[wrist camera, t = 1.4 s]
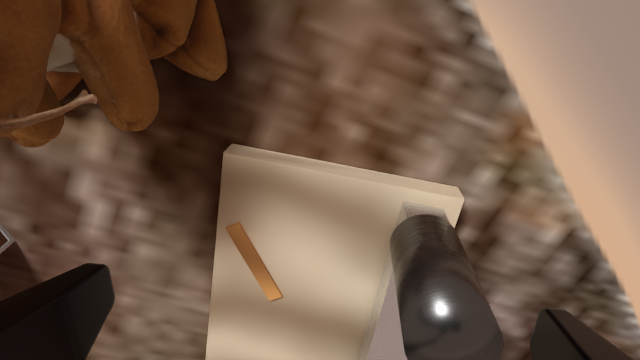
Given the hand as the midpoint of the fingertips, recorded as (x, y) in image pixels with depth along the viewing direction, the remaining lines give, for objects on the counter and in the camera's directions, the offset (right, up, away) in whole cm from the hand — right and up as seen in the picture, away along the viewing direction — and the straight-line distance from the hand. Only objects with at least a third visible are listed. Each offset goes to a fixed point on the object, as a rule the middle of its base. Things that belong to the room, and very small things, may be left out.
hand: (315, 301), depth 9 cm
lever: (+4, -7, +15) cm, 17 cm away
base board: (0, -6, +17) cm, 18 cm away
